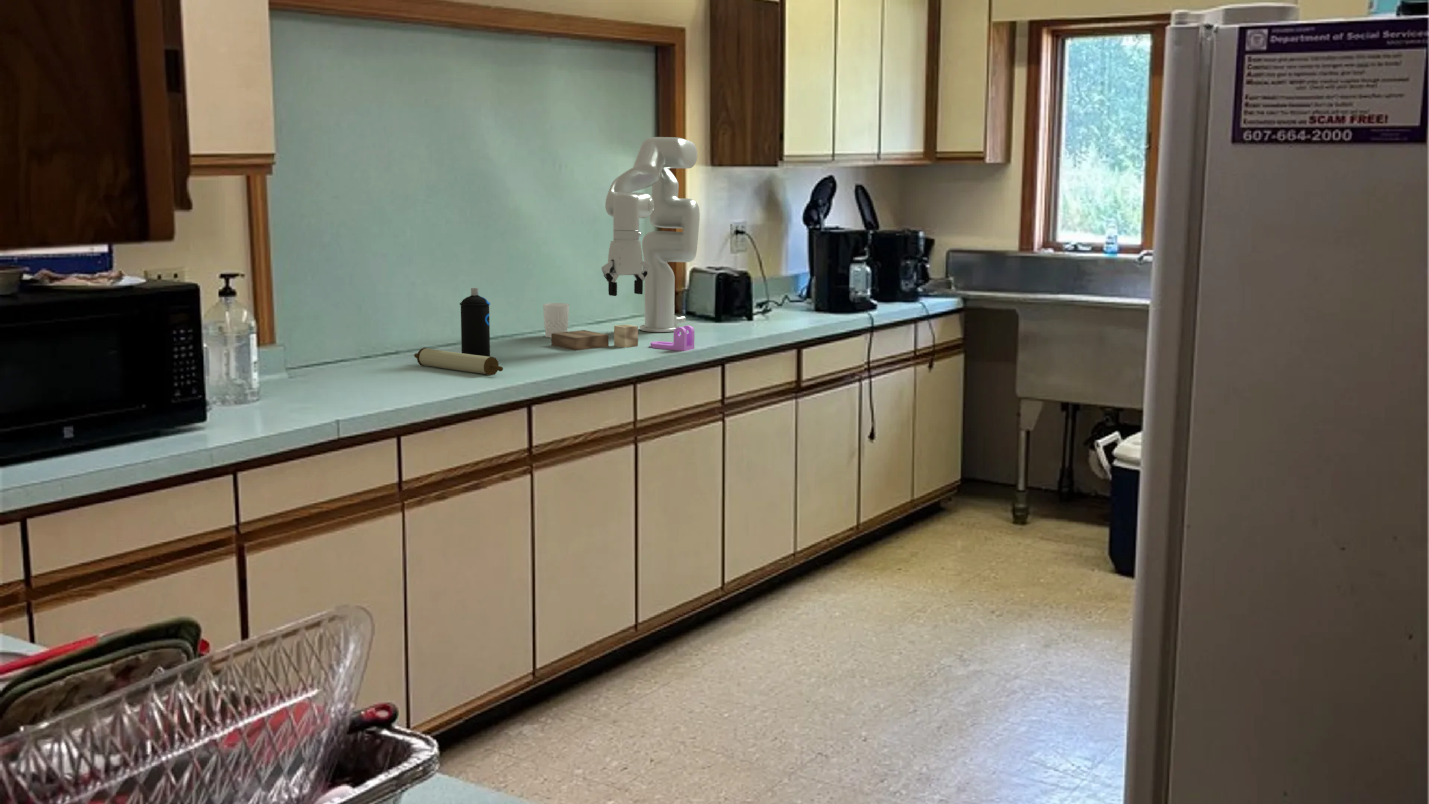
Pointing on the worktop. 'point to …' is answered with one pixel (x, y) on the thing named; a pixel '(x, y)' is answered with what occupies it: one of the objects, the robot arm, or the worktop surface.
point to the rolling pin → (458, 361)
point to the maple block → (625, 336)
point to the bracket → (678, 340)
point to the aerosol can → (475, 325)
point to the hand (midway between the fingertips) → (625, 294)
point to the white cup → (555, 318)
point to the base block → (579, 340)
